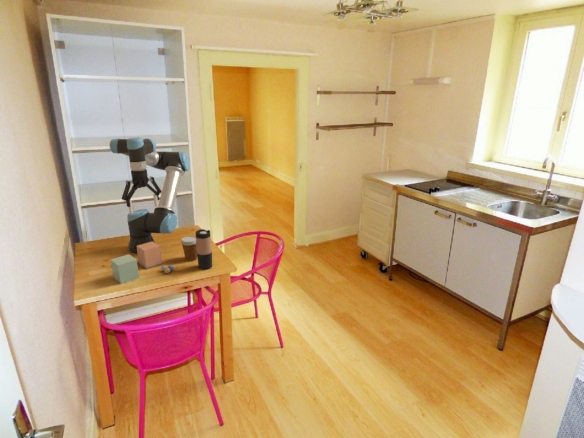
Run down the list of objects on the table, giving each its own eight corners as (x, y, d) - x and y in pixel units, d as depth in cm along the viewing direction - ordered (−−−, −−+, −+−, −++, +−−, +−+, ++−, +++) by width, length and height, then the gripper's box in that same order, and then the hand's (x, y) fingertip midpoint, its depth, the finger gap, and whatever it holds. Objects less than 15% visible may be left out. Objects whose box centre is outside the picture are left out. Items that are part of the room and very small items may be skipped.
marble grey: (160, 271, 193) (159, 265, 192) (165, 269, 195) (165, 264, 194) (163, 272, 191) (162, 267, 190) (168, 271, 193) (168, 265, 192)
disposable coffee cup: (195, 263, 202) (193, 242, 198) (179, 261, 204) (177, 241, 200) (203, 256, 211) (201, 236, 207) (187, 254, 212) (185, 235, 209)
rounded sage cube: (113, 277, 185) (110, 259, 182) (131, 271, 191) (128, 254, 188) (120, 284, 179) (118, 265, 176) (139, 277, 185) (136, 259, 182)
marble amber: (163, 273, 191) (162, 267, 190) (168, 271, 193) (168, 265, 192) (166, 274, 189) (165, 269, 188) (171, 273, 191) (171, 267, 190)
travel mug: (200, 271, 193) (197, 235, 186) (196, 265, 199) (193, 230, 193) (214, 268, 196) (212, 232, 190) (210, 262, 203) (208, 228, 196)
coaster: (137, 263, 201) (137, 262, 201) (155, 258, 208) (155, 257, 207) (145, 269, 194) (145, 268, 194) (163, 263, 201) (163, 262, 201)
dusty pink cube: (138, 262, 201) (136, 245, 197) (154, 257, 207) (152, 241, 204) (146, 268, 195) (144, 250, 191) (162, 262, 201) (160, 245, 198)
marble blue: (166, 270, 194) (166, 265, 193) (172, 268, 196) (171, 263, 195) (169, 272, 192) (169, 266, 191) (175, 270, 194) (174, 265, 193)
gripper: (116, 174, 175) (123, 216, 182) (165, 166, 192) (169, 205, 199) (110, 172, 180) (117, 213, 187) (158, 164, 197) (162, 202, 204)
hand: (144, 209), depth 193 cm, fingers open, 13 cm apart
